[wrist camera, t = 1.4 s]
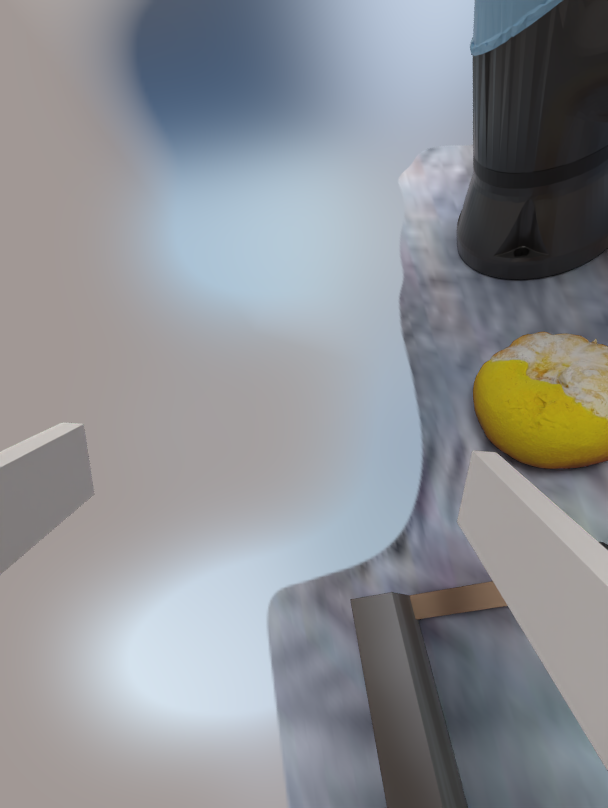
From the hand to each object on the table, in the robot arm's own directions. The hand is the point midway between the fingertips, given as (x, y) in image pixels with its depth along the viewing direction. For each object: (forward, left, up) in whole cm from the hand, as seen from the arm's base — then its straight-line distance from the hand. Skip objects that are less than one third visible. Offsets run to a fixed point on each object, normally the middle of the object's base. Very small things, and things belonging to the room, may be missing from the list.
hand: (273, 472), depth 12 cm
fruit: (-17, -5, -21) cm, 27 cm away
